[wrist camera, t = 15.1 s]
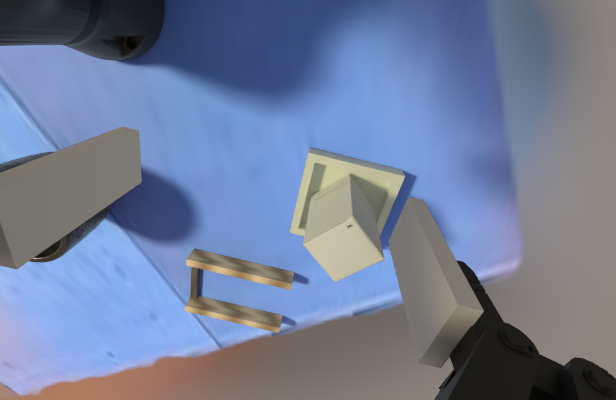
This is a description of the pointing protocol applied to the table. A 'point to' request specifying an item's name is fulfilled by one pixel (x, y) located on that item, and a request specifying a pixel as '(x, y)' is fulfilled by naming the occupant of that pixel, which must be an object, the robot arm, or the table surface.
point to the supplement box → (342, 229)
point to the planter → (72, 237)
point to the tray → (331, 167)
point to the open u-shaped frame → (240, 270)
